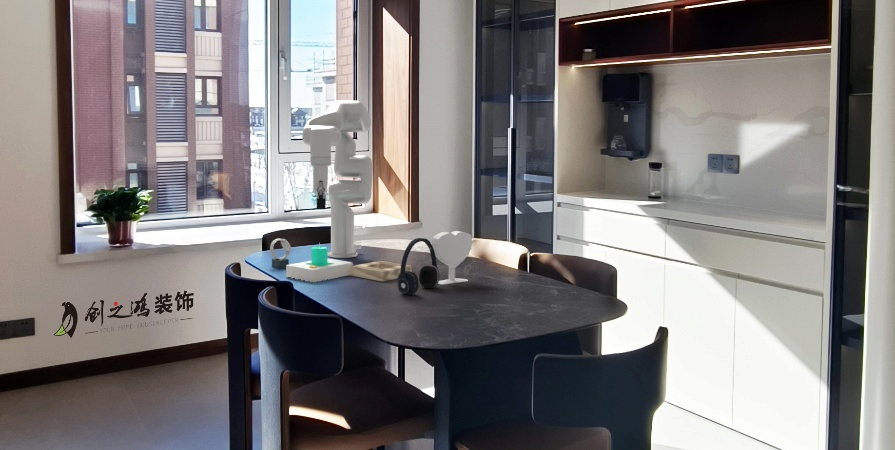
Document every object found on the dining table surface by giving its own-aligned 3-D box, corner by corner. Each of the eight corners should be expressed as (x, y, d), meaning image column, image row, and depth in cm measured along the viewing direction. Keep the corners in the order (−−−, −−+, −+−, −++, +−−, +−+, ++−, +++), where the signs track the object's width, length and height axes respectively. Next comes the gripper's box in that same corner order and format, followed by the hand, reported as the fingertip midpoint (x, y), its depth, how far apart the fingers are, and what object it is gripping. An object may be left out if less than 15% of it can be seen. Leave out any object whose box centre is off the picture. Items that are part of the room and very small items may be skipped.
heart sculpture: (464, 277, 321) (465, 229, 319) (472, 280, 317) (473, 231, 315) (430, 282, 312) (430, 232, 309) (438, 284, 308) (439, 234, 306)
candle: (325, 277, 317) (325, 245, 316) (309, 276, 318) (309, 244, 317) (329, 274, 323) (329, 242, 322) (314, 273, 324) (314, 241, 323)
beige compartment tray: (379, 269, 334) (380, 260, 334) (411, 275, 325) (411, 265, 324) (350, 275, 322) (350, 266, 321) (382, 281, 312) (383, 271, 312)
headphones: (411, 298, 287) (411, 243, 284) (393, 295, 290) (394, 241, 288) (442, 287, 304) (443, 235, 301) (425, 285, 307) (426, 234, 305)
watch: (293, 266, 337) (293, 238, 336) (274, 269, 332) (274, 240, 331) (286, 264, 341) (286, 237, 340) (267, 266, 336) (267, 238, 335)
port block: (326, 269, 333) (326, 256, 332) (352, 274, 324) (352, 260, 323) (286, 277, 317) (286, 263, 316) (313, 282, 308) (313, 268, 308)
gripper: (311, 159, 328) (311, 204, 331) (309, 163, 311) (310, 210, 314) (331, 159, 329) (331, 204, 332) (331, 163, 312) (331, 210, 315)
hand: (321, 207), depth 323 cm, fingers open, 9 cm apart
